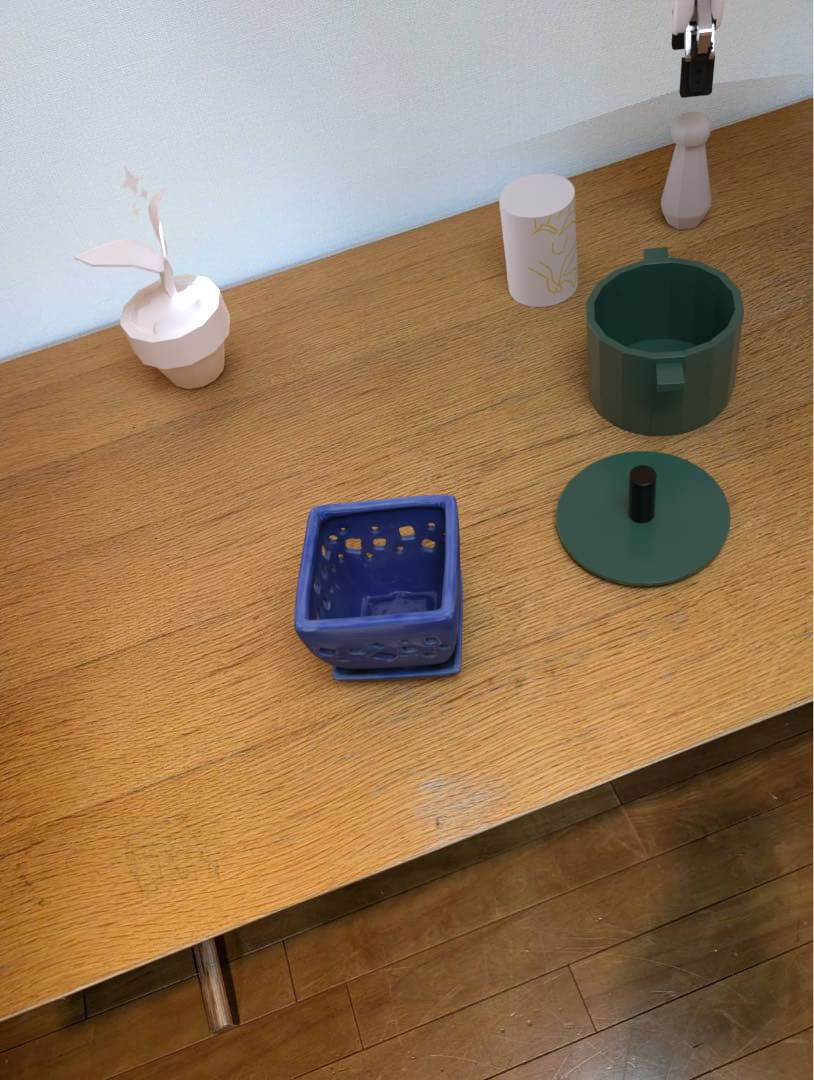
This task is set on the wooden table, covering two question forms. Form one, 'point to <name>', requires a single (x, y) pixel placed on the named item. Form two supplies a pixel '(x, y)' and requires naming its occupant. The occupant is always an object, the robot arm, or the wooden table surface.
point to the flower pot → (383, 589)
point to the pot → (663, 344)
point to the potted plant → (168, 308)
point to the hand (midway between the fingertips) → (690, 70)
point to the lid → (643, 518)
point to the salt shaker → (688, 173)
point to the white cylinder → (540, 239)
